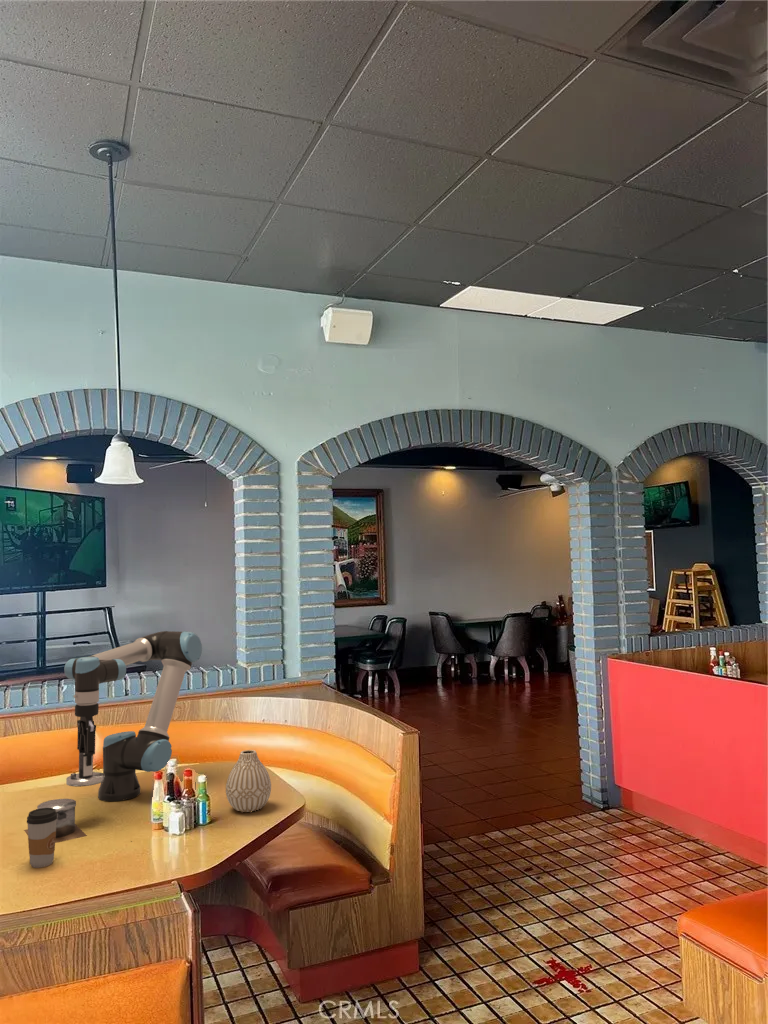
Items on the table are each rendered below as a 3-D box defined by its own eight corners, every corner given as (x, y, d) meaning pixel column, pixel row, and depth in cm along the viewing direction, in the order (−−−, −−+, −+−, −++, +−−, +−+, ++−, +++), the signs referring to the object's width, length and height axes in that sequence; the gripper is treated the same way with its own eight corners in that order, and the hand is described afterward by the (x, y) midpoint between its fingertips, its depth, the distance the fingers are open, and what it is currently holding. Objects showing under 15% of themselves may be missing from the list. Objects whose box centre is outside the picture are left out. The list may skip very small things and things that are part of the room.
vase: (216, 813, 269) (216, 755, 270) (241, 799, 284) (241, 744, 285) (256, 818, 263) (255, 759, 264) (279, 804, 278) (279, 748, 279)
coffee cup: (45, 870, 222) (45, 817, 223) (19, 868, 224) (20, 815, 225) (63, 859, 230) (63, 807, 231) (38, 857, 232) (38, 806, 233)
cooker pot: (32, 829, 254) (32, 801, 254) (68, 822, 261) (69, 794, 261) (43, 843, 241) (43, 814, 242) (81, 835, 248) (82, 806, 248)
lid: (98, 774, 268) (98, 746, 269) (109, 782, 259) (109, 753, 260) (62, 780, 261) (62, 751, 262) (71, 788, 252) (72, 758, 252)
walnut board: (71, 822, 263) (71, 820, 263) (87, 838, 247) (87, 835, 247) (23, 832, 254) (23, 830, 254) (37, 849, 238) (37, 846, 239)
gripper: (68, 701, 267) (67, 770, 265) (82, 708, 253) (81, 781, 251) (90, 699, 271) (89, 766, 269) (106, 705, 257) (105, 777, 256)
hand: (85, 773), depth 260 cm, fingers closed on lid, 4 cm apart
